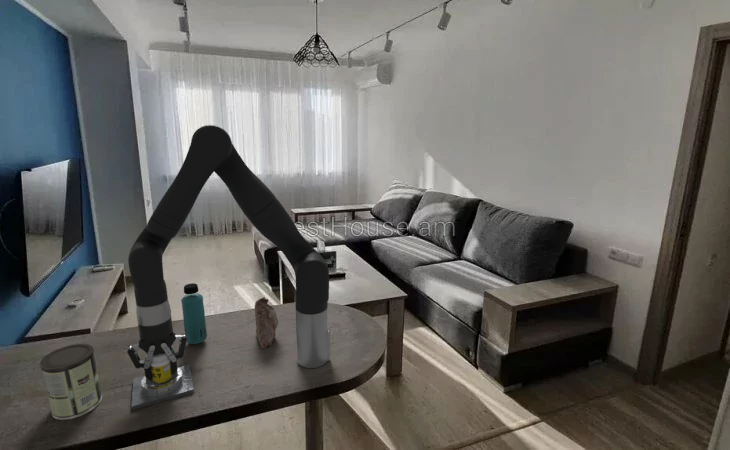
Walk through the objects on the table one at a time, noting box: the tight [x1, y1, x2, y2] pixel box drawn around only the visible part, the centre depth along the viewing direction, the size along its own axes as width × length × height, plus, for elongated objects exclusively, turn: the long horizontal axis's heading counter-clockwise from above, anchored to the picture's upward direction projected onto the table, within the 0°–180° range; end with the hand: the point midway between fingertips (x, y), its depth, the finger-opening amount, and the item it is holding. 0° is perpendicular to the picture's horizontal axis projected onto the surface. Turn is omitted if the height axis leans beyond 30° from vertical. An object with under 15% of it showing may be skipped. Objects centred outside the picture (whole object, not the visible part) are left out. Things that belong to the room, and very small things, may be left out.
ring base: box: [130, 364, 195, 411], centre depth 102 cm, size 14×12×3 cm
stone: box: [254, 296, 279, 349], centre depth 124 cm, size 15×8×10 cm
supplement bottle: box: [150, 353, 173, 386], centre depth 101 cm, size 5×5×8 cm
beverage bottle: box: [180, 283, 208, 345], centre depth 120 cm, size 6×7×20 cm
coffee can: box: [39, 343, 103, 421], centre depth 93 cm, size 10×10×14 cm
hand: (162, 375), depth 101 cm, fingers closed on supplement bottle, 4 cm apart
